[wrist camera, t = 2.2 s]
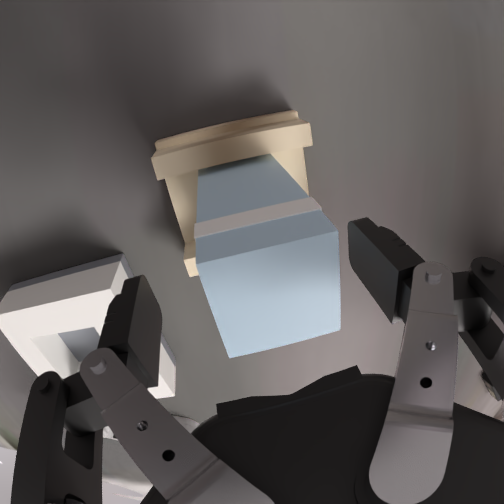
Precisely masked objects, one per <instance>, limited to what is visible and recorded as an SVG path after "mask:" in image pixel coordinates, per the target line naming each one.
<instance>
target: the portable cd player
mask: <svg viewBox="0 0 504 504" xmlns="http://www.w3.org/2000/svg"><path fill="white" fill-rule="evenodd" d="M482 375H483V380H484V382H485V384H486V386H487V388H488V390H489V392H490V394H491V395H492V396H493V397H494V398H495V399H496V400H497V401H500V400H501V398H500V396H499V394H498V393H497V391H496V389H495V388H494V386H493V384H492V383H491V381H490V380H489V378H488V376H487V375H486V373H485V372H484V373H483V374H482Z"/></svg>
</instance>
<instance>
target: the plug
mask: <svg viewBox="0 0 504 504" xmlns="http://www.w3.org/2000/svg"><path fill="white" fill-rule="evenodd" d="M194 239H195V242H196V267H197V270H198V273H199V276H200V279H201V282H202V285H203V288H204V290H205V293H206V296H207V299H208V302H209V305H210V307H211V310H212V313H213V316H214V318H215V321H216V324H217V327H218V329H219V332H220V335H221V337H222V340H223V343H224V345H225V348H226V351H227V353H228V356H229V358H233V357H237V356H242V355H246V354H251V353H255V352H259V351H264V350H268V349H272V348H276V347H280V346H284V345H288V344H292V343H295V342H299V341H303V340H307V339H310V338H314V337H317V336H321V335H324V334H328V333H331V332H335V331H338V330H340V261H339V237H338V230H337V228H336V227H335V226H334V225H333V224H332V222H331V221H330V220H329V219H328V218H327V217H326V215H325V214H324V213H323V212H322V207H321V206H320V205H319V204H318V203H317V202H316V201H315V199H314V198H313V197H309V196H308V195H307V193H306V192H305V191H304V190H303V189H302V188H301V187H300V185H299V184H298V183H297V182H296V181H295V180H294V179H293V178H292V177H291V175H290V174H289V173H288V172H287V171H286V170H285V169H284V168H283V167H282V166H281V165H280V163H279V162H278V161H277V160H276V159H275V158H274V157H273V156H272V155H271V154H265V155H260V156H255V157H250V158H246V159H241V160H237V161H232V162H228V163H224V164H220V165H215V166H211V167H207V168H203V169H199V170H198V188H197V217H196V223H195V224H194Z"/></svg>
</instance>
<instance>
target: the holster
mask: <svg viewBox="0 0 504 504" xmlns="http://www.w3.org/2000/svg"><path fill="white" fill-rule="evenodd" d="M155 146H156V152H155V153H154V155H153V156H152V158H151V160H152V164H153V167H154V170H155V174H156V177H157V180H162V179H165V181H166V184H167V188H168V191H169V194H170V197H171V201H172V204H173V207H174V210H175V213H176V217H177V220H178V223H179V226H180V229H181V232H182V235H183V238H184V241H185V251H184V262H185V265H186V268H187V271H188V273H189V276H190V277H193V276H197V275H199V273H198V270H197V267H196V242H195V239H194V224H195V223H196V217H197V188H198V170H199V169H203V168H207V167H211V166H215V165H220V164H224V163H228V162H232V161H237V160H241V159H246V158H250V157H255V156H260V155H265V154H271V155H272V156H273V157H274V158H275V159H276V160H277V161H278V162H279V163H280V165H281V166H282V167H283V168H284V169H285V170H286V171H287V172H288V173H289V174H290V175H291V177H292V178H293V179H294V180H295V181H296V182H297V183H298V184H299V185H300V187H301V188H302V189H303V190H304V191H305V192H306V193H307V195H308V196H309V192H308V184H307V176H306V168H305V160H304V153H303V147H307V146H313V143H312V136H311V128H310V123H308V122H306V121H303V120H301V119H298V113H297V111H294V110H290V111H284V112H278V113H272V114H267V115H261V116H256V117H251V118H246V119H241V120H236V121H231V122H227V123H222V124H218V125H214V126H209V127H205V128H201V129H197V130H193V131H189V132H185V133H182V134H178V135H174V136H171V137H167V138H164V139H160V140H157V141H156V142H155Z"/></svg>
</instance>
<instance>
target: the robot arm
mask: <svg viewBox="0 0 504 504" xmlns="http://www.w3.org/2000/svg"><path fill="white" fill-rule="evenodd" d="M348 244H349V260H350V264H351V266H352V269H353V270H354V272H355V273H356V274H357V276H358V277H359V279H360V280H361V281H362V283H363V284H364V285H365V287H366V288H367V290H368V291H369V292H370V294H371V295H372V296H373V298H374V299H375V301H376V302H377V303H378V305H379V306H380V308H381V309H382V311H383V312H384V313H385V315H386V316H387V318H388V319H389V321H390V322H391V323H392V324H394V323H397V322H399V321H402V320H403V322H404V323H405V327H404V333H403V338H402V343H401V348H400V353H399V358H398V363H397V367H396V371H395V376H394V377H392V376H388V375H383V374H361V373H360V371H359V369H358V367H357V365H356V366H353V367H350V368H348V369H345V370H342V371H339V372H336V373H333V374H330V375H327V376H324V377H322V378H320V379H318V380H317V381H315V382H313V383H311V384H309V385H308V386H306V387H304V388H302V389H300V390H299V391H297V392H295V393H293V394H290V395H280V396H251V397H247V398H242V399H238V400H233V401H229V402H224V403H219V404H216V406H217V415H215V416H212V417H211V418H209V419H207V420H205V421H204V422H203V423H201V424H200V425H199V426H197V427H196V428H195V429H194V430H193V431H192V432H191V433H190V432H188V431H187V430H186V429H185V428H184V427H183V426H182V425H181V424H180V423H179V422H178V421H177V420H176V419H175V418H174V417H173V416H172V415H171V414H170V413H169V412H168V411H167V410H166V409H165V408H164V407H163V406H162V405H161V404H160V403H159V402H158V400H157V399H156V398H155V397H154V396H153V395H152V394H151V393H150V392H149V391H148V388H152V387H158V382H159V361H160V344H161V330H162V313H161V309H160V306H159V304H158V302H157V300H156V298H155V296H154V294H153V292H152V290H151V287H150V285H149V283H148V281H147V279H146V277H145V276H144V275H140V276H136V277H132V278H128V279H125V280H124V283H123V287H122V290H121V294H117V295H116V296H115V297H114V298H113V300H112V301H111V302H110V304H109V306H108V310H107V313H106V314H107V316H106V317H105V320H104V323H105V324H103V328H102V331H101V335H100V339H99V343H98V347H97V349H96V350H94V351H92V352H90V353H89V354H88V355H87V356H86V357H85V358H84V359H83V361H82V363H81V365H80V371H79V372H77V373H75V374H73V375H71V376H68V377H66V378H64V379H62V378H61V377H60V375H59V374H58V373H57V372H55V371H47V372H44V373H43V374H41V375H40V376H39V377H38V378H37V379H36V380H35V381H34V383H33V385H32V387H31V390H30V394H29V398H28V402H27V406H26V410H25V414H24V419H23V423H22V428H21V433H20V438H19V443H18V449H17V455H16V461H15V468H14V476H13V484H12V494H11V504H102V445H103V428H104V427H107V426H109V428H110V429H111V431H112V432H113V434H114V435H115V437H116V438H117V439H118V441H119V442H120V444H121V445H122V446H123V448H124V449H125V450H126V452H127V453H128V454H129V456H130V457H131V458H132V460H133V461H134V462H135V463H136V465H137V466H138V467H139V468H140V470H141V471H142V472H143V473H144V475H145V476H146V477H147V478H148V479H149V481H150V482H151V483H152V484H153V487H152V488H151V489H150V491H149V492H148V493H147V495H146V496H145V498H144V499H143V500H142V502H141V503H140V504H504V267H503V266H502V265H501V264H500V263H499V262H497V261H496V260H494V259H491V258H487V257H479V258H476V259H474V260H473V261H472V263H471V266H470V270H469V271H467V272H456V273H452V272H451V271H450V269H449V268H448V267H446V266H445V265H443V264H440V263H437V262H425V261H424V260H423V259H422V258H421V257H420V256H419V255H418V254H417V253H416V252H415V251H414V250H413V249H412V248H411V247H410V246H408V245H406V243H405V242H404V241H403V240H402V239H400V237H399V236H398V235H397V234H395V233H394V232H393V231H392V230H389V229H387V228H385V227H382V226H380V227H378V226H377V225H375V224H374V223H373V222H372V221H371V220H370V219H369V218H367V217H366V218H362V219H358V220H354V221H350V222H349V223H348ZM458 333H459V335H460V336H461V338H462V339H463V340H464V342H465V343H466V345H467V346H468V348H469V349H470V351H471V352H472V354H473V355H474V356H475V358H476V359H477V361H478V362H479V364H480V366H481V367H482V369H483V370H484V372H485V373H486V375H487V376H488V378H489V380H490V381H491V383H492V384H493V386H494V388H495V389H496V391H497V393H498V394H499V396H500V398H501V399H502V401H503V402H502V408H501V409H502V415H503V417H502V421H500V420H498V419H495V418H492V417H490V416H487V415H485V414H482V413H480V412H477V411H474V410H472V409H469V408H467V407H464V406H462V405H460V404H457V403H455V402H454V395H455V385H456V373H457V358H458ZM63 427H64V428H65V429H66V430H67V431H66V439H65V448H64V450H63V448H62V434H63Z"/></svg>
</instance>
